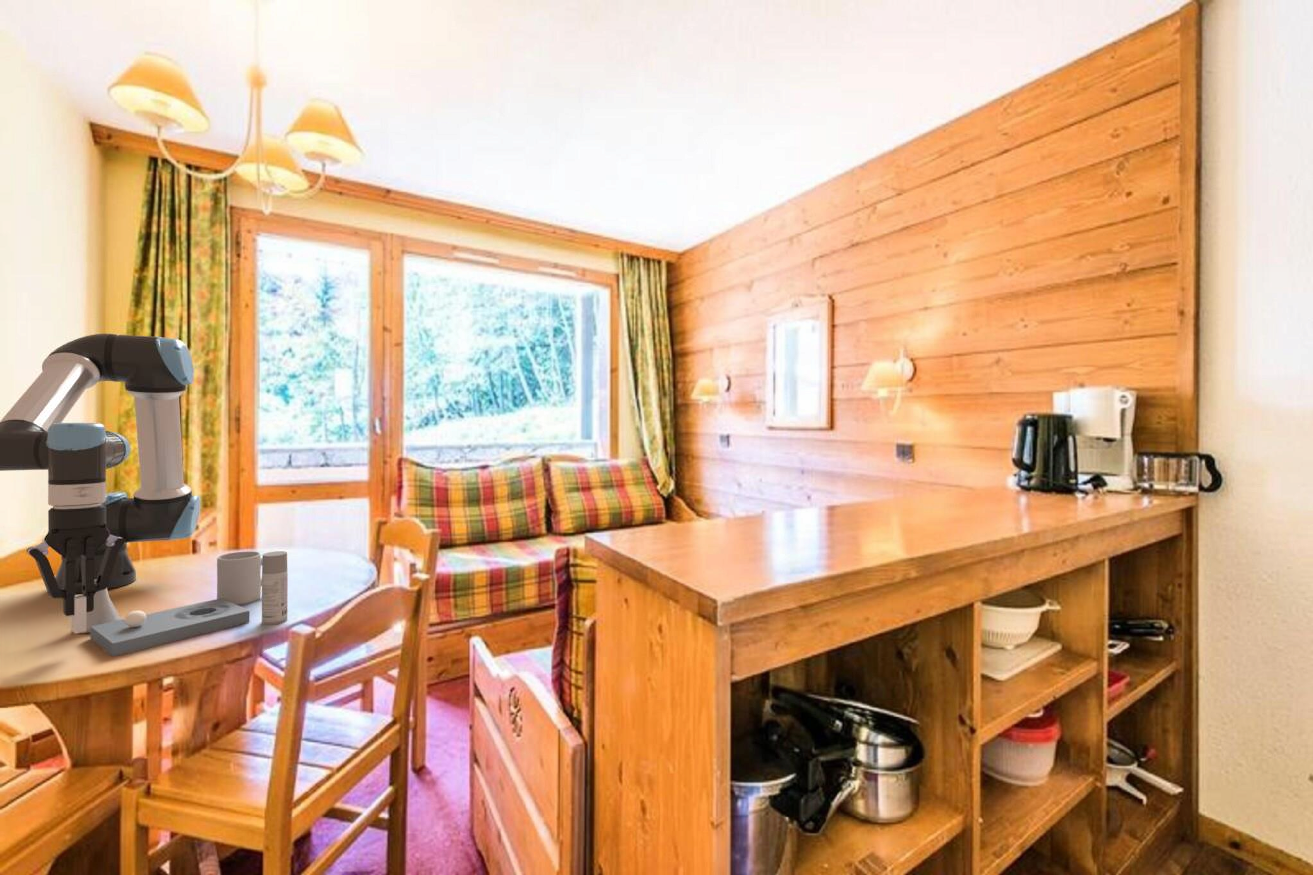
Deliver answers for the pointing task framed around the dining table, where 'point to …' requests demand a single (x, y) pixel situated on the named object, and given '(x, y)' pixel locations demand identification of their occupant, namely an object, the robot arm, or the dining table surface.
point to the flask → (101, 611)
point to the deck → (168, 626)
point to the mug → (239, 577)
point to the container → (274, 587)
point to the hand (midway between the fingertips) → (78, 630)
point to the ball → (135, 619)
